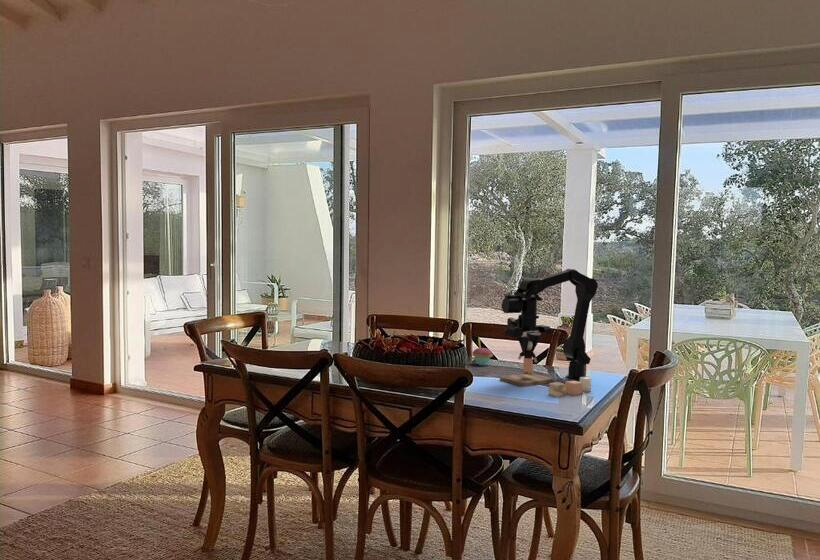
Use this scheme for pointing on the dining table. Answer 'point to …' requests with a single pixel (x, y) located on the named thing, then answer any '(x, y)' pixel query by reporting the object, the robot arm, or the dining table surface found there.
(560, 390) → the beech block
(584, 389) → the off-white cylinder
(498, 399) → the dining table surface
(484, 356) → the cupcake
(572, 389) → the terracotta block
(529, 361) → the grandmother figurine
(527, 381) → the walnut board
